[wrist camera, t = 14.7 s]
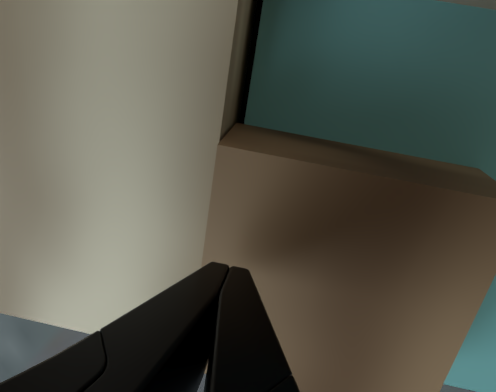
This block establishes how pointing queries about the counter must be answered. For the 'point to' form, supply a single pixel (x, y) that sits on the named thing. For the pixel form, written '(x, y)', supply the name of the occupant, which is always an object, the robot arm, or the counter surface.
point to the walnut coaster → (355, 254)
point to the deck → (110, 148)
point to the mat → (388, 98)
